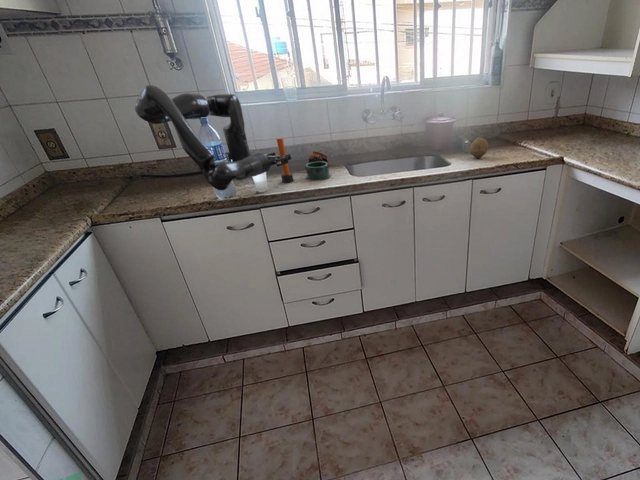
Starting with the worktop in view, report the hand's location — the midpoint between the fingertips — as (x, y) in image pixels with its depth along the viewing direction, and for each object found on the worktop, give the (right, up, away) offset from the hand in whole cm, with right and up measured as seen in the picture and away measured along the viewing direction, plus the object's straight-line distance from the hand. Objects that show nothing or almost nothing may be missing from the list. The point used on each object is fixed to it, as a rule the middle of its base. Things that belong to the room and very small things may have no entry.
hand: (282, 155), depth 164 cm
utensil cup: (+13, -6, +11) cm, 18 cm away
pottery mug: (+10, +3, +24) cm, 27 cm away
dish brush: (0, -9, +6) cm, 11 cm away
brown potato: (+90, +9, +29) cm, 95 cm away
